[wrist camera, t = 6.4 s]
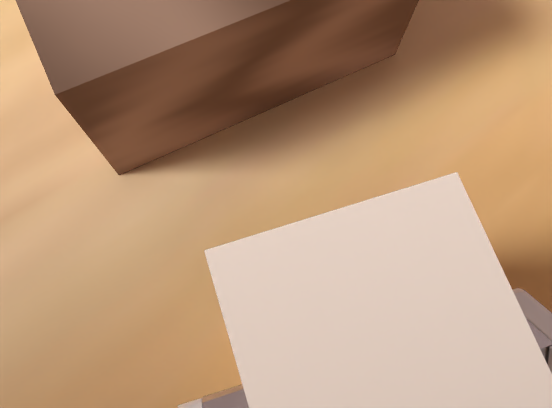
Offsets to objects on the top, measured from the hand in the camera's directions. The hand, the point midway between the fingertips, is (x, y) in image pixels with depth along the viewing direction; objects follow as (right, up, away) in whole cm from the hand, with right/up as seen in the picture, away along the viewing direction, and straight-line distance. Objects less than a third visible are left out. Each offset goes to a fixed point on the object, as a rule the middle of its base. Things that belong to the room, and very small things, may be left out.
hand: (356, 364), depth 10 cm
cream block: (0, -1, +6) cm, 6 cm away
